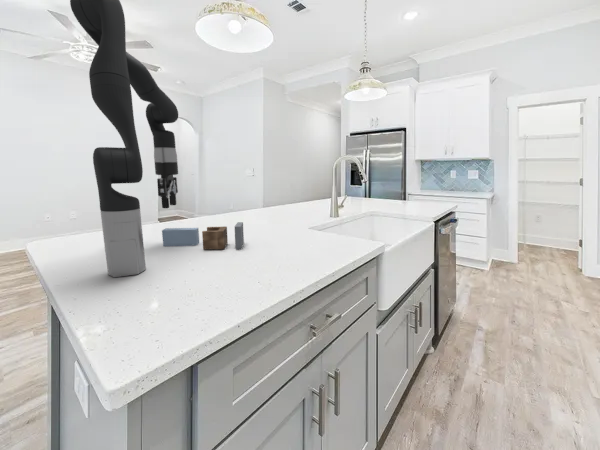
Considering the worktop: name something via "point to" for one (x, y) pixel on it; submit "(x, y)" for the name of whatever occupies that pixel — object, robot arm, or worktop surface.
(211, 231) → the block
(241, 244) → the wall
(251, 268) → the worktop surface
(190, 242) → the peg
